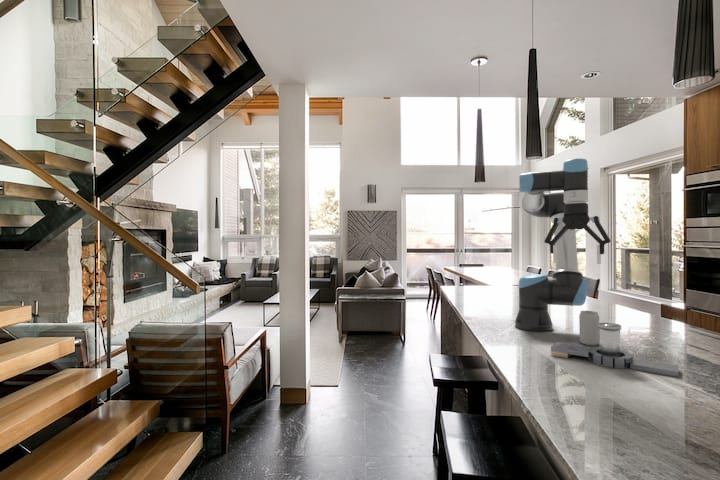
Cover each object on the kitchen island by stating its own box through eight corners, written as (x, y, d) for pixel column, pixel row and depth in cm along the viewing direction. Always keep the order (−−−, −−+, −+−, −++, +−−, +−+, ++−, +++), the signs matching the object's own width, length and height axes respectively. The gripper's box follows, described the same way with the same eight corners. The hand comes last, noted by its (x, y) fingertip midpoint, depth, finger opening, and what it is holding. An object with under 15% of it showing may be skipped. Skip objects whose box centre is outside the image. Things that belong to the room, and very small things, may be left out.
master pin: (596, 363, 120) (596, 325, 120) (600, 358, 125) (599, 321, 125) (620, 367, 116) (620, 327, 116) (622, 361, 121) (622, 324, 121)
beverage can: (594, 341, 144) (593, 310, 144) (603, 346, 138) (602, 313, 138) (576, 341, 145) (576, 310, 145) (584, 346, 139) (584, 313, 139)
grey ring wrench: (549, 357, 127) (549, 348, 127) (557, 349, 136) (557, 340, 136) (678, 379, 105) (678, 368, 105) (678, 368, 114) (678, 358, 114)
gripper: (535, 205, 139) (535, 262, 140) (616, 199, 123) (617, 265, 124) (540, 206, 145) (541, 261, 145) (619, 201, 129) (620, 263, 129)
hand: (576, 263), depth 134 cm, fingers open, 13 cm apart
